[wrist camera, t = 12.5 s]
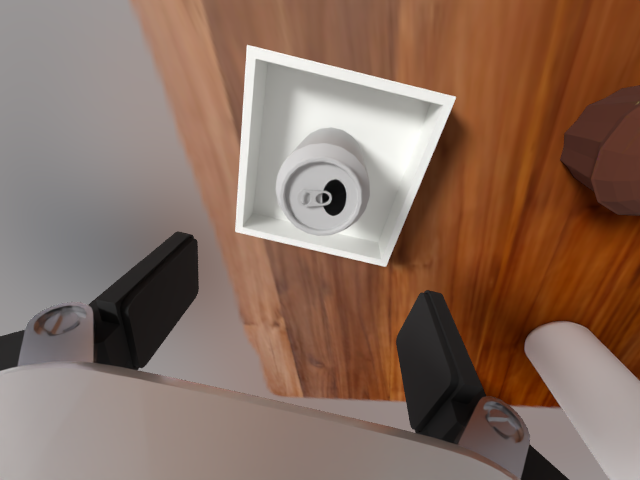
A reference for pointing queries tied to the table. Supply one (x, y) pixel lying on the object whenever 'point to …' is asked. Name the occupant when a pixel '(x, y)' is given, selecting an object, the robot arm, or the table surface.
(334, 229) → the can
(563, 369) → the alcohol
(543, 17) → the table surface
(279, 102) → the tote
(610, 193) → the muffin
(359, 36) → the table surface
